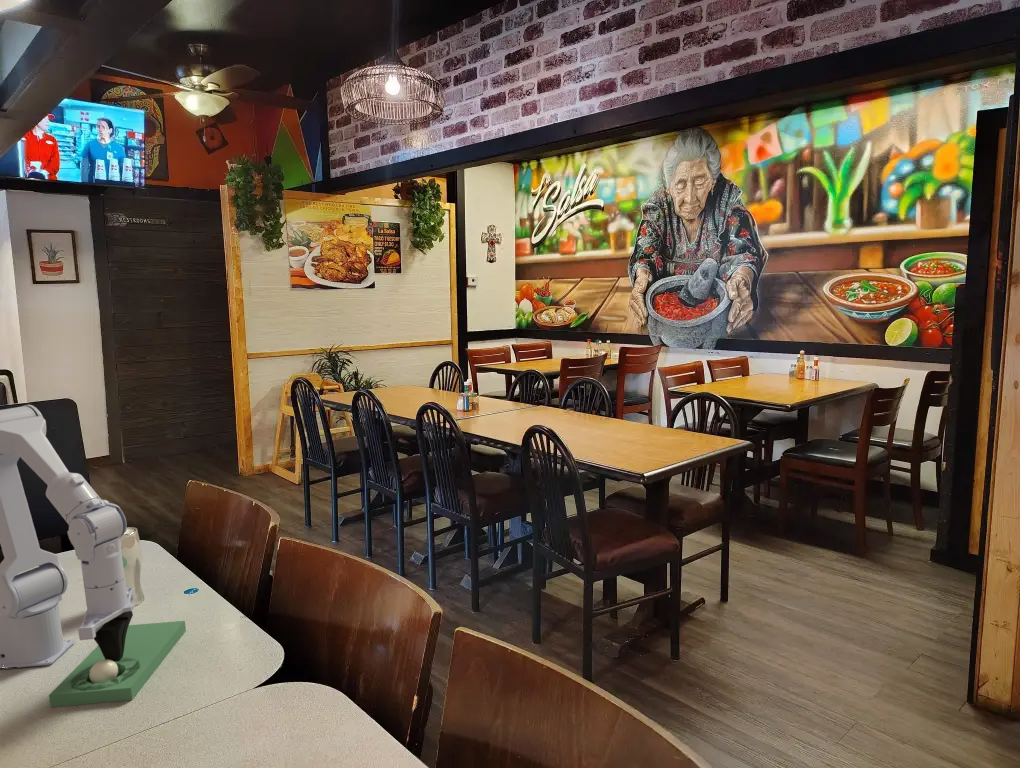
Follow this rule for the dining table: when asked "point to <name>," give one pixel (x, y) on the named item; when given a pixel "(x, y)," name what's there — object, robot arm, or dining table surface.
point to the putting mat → (121, 666)
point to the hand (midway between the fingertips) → (114, 659)
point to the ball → (103, 671)
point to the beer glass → (132, 562)
